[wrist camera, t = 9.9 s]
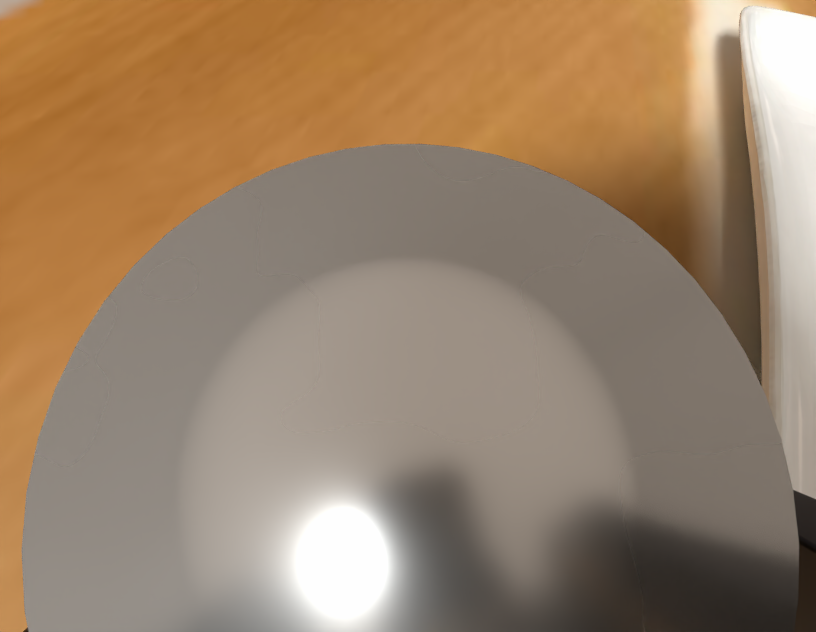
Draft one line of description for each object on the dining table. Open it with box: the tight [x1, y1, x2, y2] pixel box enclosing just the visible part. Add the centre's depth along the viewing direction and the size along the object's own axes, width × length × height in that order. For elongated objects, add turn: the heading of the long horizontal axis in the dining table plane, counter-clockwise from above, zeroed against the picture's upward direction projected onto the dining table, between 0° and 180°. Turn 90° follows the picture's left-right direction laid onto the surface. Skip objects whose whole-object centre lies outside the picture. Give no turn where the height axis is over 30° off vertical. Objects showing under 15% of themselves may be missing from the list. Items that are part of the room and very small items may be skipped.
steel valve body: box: [22, 144, 799, 632], centre depth 10 cm, size 7×7×13 cm
